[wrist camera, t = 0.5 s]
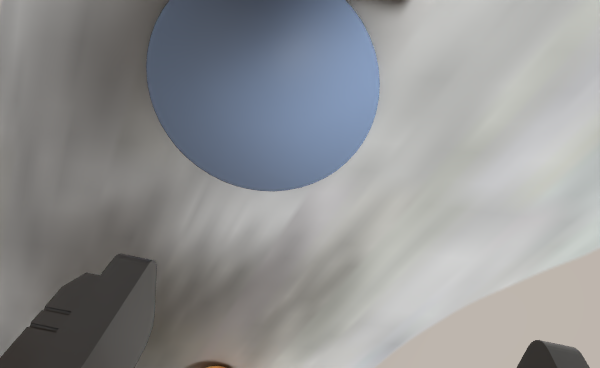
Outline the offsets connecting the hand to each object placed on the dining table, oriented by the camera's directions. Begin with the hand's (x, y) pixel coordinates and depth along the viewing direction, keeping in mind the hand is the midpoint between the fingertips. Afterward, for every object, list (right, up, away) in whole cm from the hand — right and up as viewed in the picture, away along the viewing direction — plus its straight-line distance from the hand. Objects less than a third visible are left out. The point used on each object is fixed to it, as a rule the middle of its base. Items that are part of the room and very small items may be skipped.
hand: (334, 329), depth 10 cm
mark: (-3, +8, +16) cm, 18 cm away
